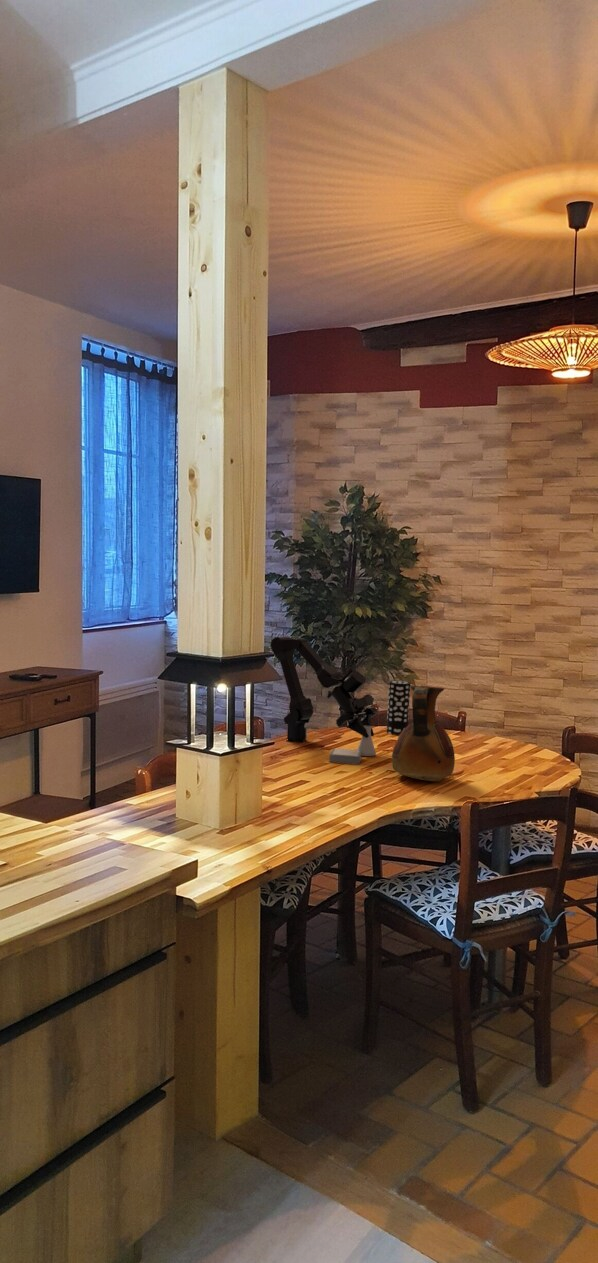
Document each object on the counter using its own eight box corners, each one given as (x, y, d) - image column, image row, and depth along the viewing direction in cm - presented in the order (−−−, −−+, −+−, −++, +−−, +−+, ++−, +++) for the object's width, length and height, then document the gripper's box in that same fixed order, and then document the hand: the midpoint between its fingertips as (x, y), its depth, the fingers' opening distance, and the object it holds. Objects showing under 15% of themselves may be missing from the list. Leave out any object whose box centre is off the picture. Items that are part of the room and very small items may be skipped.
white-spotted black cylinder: (396, 729, 370) (399, 680, 368) (412, 733, 364) (414, 683, 362) (382, 731, 365) (384, 681, 363) (397, 735, 358) (400, 684, 357)
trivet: (329, 762, 309) (329, 754, 309) (332, 755, 319) (333, 747, 319) (359, 764, 308) (359, 756, 308) (361, 757, 318) (362, 750, 318)
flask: (376, 757, 320) (378, 728, 319) (355, 756, 320) (357, 727, 319) (375, 752, 327) (377, 724, 326) (355, 751, 327) (356, 723, 326)
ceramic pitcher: (456, 775, 300) (462, 683, 297) (449, 790, 280) (455, 692, 278) (396, 768, 305) (401, 678, 302) (385, 782, 286) (391, 686, 283)
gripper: (344, 689, 316) (370, 726, 310) (374, 684, 331) (399, 719, 325) (325, 709, 321) (349, 745, 316) (355, 703, 336) (379, 737, 331)
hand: (370, 736), depth 322 cm, fingers closed on flask, 3 cm apart
